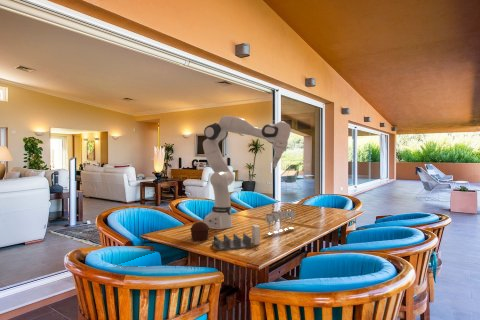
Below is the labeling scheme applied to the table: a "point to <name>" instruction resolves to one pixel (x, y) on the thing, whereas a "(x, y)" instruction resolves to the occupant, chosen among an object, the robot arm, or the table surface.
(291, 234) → the table surface
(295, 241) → the table surface
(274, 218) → the goblet set
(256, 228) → the tall cream block
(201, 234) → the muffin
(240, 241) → the dish rack
